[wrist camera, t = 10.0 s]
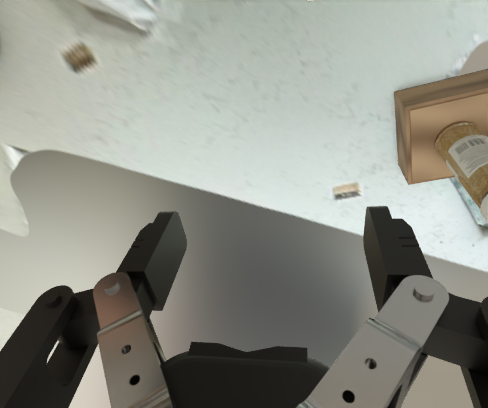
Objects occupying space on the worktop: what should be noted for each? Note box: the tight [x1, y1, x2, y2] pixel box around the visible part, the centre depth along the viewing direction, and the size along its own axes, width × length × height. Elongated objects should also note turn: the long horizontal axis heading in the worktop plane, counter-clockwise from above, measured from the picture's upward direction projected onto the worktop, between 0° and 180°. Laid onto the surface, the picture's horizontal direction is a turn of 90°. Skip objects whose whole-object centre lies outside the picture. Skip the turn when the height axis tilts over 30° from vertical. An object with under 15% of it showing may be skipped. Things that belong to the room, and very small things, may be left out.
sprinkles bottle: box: [435, 122, 488, 223], centre depth 30 cm, size 5×5×14 cm
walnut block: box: [394, 69, 488, 185], centre depth 38 cm, size 10×10×5 cm
